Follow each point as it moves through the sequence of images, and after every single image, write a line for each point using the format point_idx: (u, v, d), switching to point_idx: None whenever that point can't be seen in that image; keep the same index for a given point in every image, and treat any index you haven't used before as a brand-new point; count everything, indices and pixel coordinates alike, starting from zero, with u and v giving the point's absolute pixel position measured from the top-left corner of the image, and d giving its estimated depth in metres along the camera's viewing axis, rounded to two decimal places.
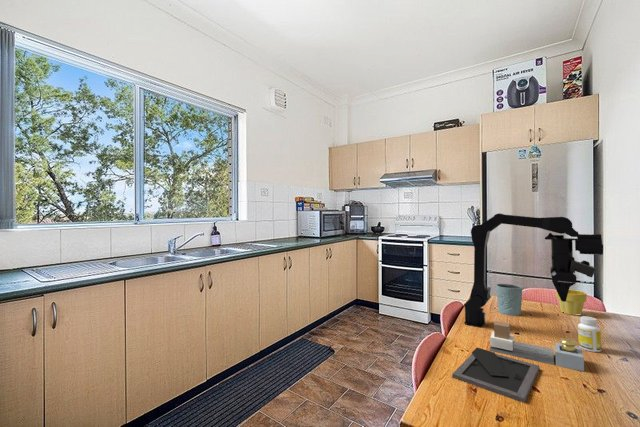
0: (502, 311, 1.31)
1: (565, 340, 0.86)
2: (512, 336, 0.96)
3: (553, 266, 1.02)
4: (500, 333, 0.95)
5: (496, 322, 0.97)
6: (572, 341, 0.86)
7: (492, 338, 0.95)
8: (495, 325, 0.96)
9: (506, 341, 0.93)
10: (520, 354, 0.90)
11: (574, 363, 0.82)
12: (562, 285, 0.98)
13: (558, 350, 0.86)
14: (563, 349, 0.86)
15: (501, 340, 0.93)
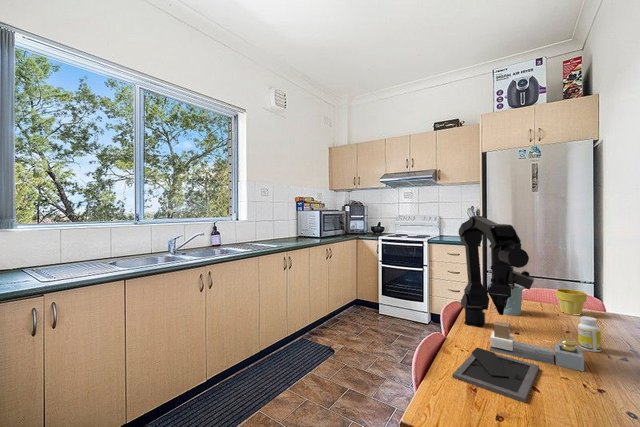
0: None
1: (565, 340, 0.86)
2: (512, 336, 0.96)
3: (492, 277, 0.97)
4: (500, 333, 0.95)
5: (496, 322, 0.97)
6: (572, 341, 0.86)
7: (492, 338, 0.95)
8: (495, 325, 0.96)
9: (506, 341, 0.93)
10: (520, 354, 0.90)
11: (574, 363, 0.82)
12: (499, 298, 0.92)
13: (558, 350, 0.86)
14: (563, 349, 0.86)
15: (501, 340, 0.93)
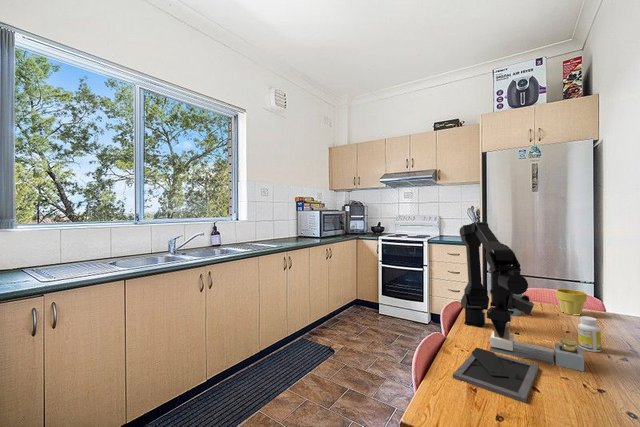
0: None
1: (565, 340, 0.86)
2: (512, 336, 0.96)
3: (492, 301, 0.97)
4: None
5: None
6: (572, 341, 0.86)
7: (492, 338, 0.95)
8: None
9: (506, 341, 0.93)
10: (520, 354, 0.90)
11: (574, 363, 0.82)
12: (499, 321, 0.94)
13: (558, 350, 0.86)
14: (563, 349, 0.86)
15: (501, 340, 0.93)
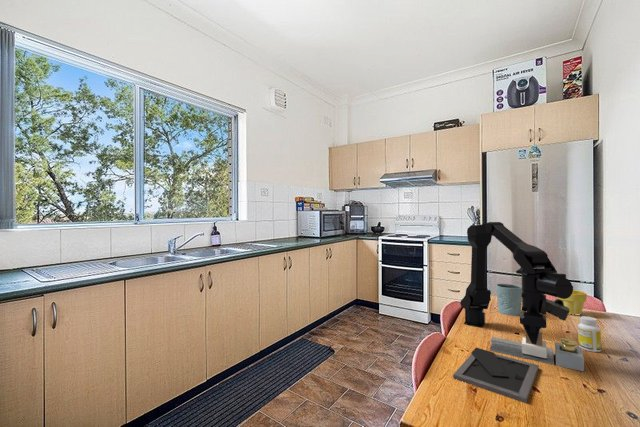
0: (502, 311, 1.31)
1: (565, 340, 0.86)
2: (545, 342, 0.91)
3: (523, 305, 0.92)
4: None
5: None
6: (572, 341, 0.86)
7: (524, 344, 0.90)
8: None
9: (539, 348, 0.88)
10: (520, 354, 0.90)
11: (574, 363, 0.82)
12: (532, 326, 0.89)
13: (558, 350, 0.86)
14: (563, 349, 0.86)
15: (534, 347, 0.88)
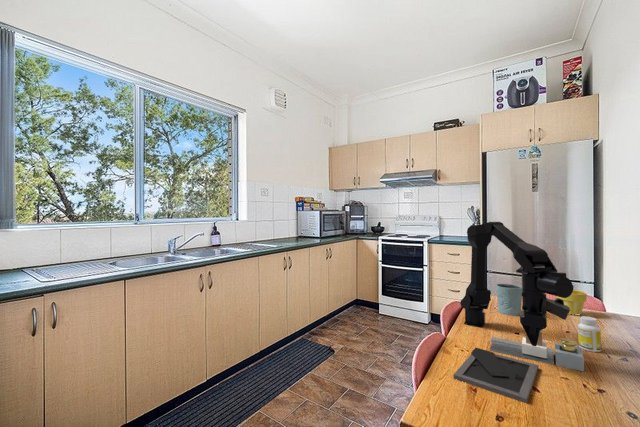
0: (502, 311, 1.31)
1: (565, 340, 0.86)
2: (545, 342, 0.91)
3: (523, 304, 0.91)
4: None
5: None
6: (572, 341, 0.86)
7: (524, 344, 0.90)
8: None
9: (540, 348, 0.88)
10: (520, 354, 0.90)
11: (574, 363, 0.82)
12: (532, 328, 0.87)
13: (558, 350, 0.86)
14: (563, 349, 0.86)
15: (534, 347, 0.88)
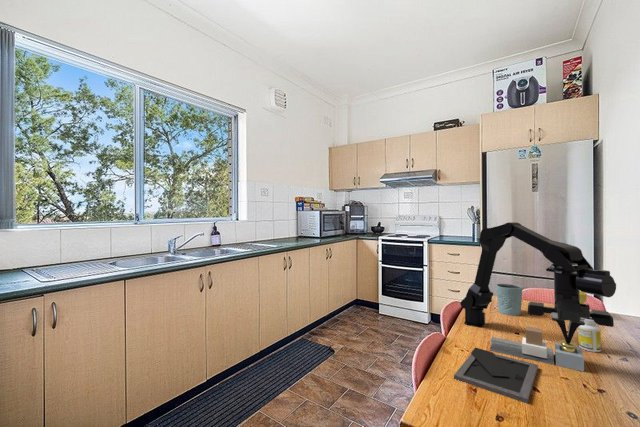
0: (502, 311, 1.31)
1: (565, 342, 0.86)
2: (545, 342, 0.91)
3: None
4: (532, 340, 0.90)
5: (527, 327, 0.92)
6: (572, 343, 0.86)
7: (524, 344, 0.90)
8: (527, 331, 0.90)
9: (540, 348, 0.88)
10: (520, 354, 0.90)
11: (574, 363, 0.82)
12: None
13: (558, 350, 0.86)
14: None
15: (534, 347, 0.88)
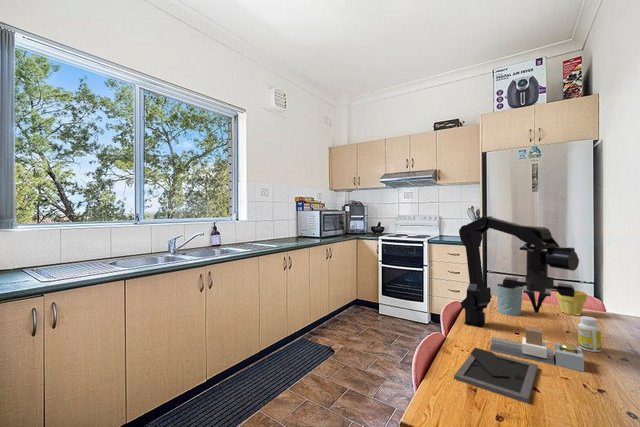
0: (502, 311, 1.31)
1: (565, 345, 0.86)
2: (545, 342, 0.91)
3: None
4: (532, 340, 0.90)
5: (527, 327, 0.92)
6: (572, 346, 0.86)
7: (524, 344, 0.90)
8: (527, 331, 0.90)
9: (540, 348, 0.88)
10: (520, 354, 0.90)
11: (574, 363, 0.82)
12: None
13: (558, 350, 0.86)
14: None
15: (534, 347, 0.88)
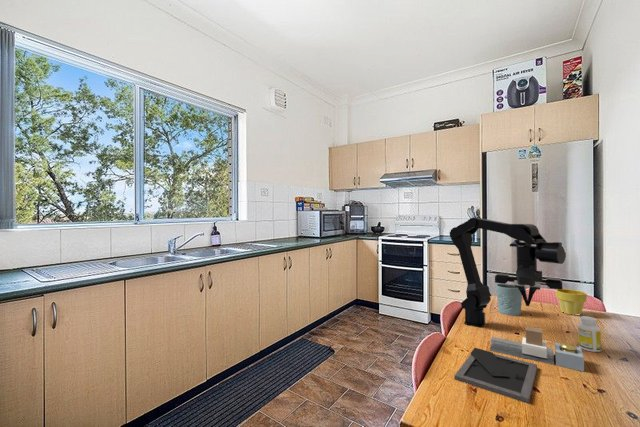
0: (502, 311, 1.31)
1: (565, 345, 0.86)
2: (545, 342, 0.91)
3: None
4: (532, 340, 0.90)
5: (527, 327, 0.92)
6: (572, 346, 0.86)
7: (524, 344, 0.90)
8: (527, 331, 0.90)
9: (540, 348, 0.88)
10: (520, 354, 0.90)
11: (574, 363, 0.82)
12: None
13: (558, 350, 0.86)
14: None
15: (534, 347, 0.88)
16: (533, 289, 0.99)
